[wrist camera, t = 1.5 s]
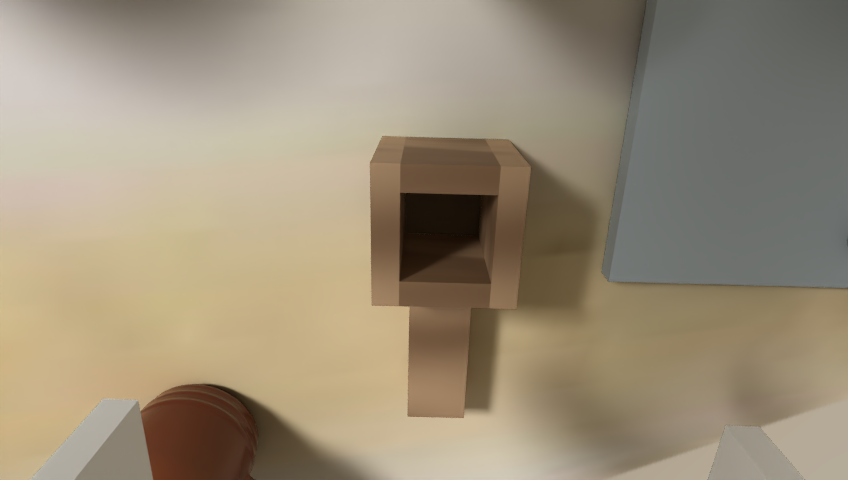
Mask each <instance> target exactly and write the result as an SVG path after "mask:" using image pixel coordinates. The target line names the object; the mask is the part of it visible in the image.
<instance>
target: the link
mask: <svg viewBox="0 0 848 480" xmlns="http://www.w3.org/2000/svg"><path fill="white" fill-rule="evenodd" d="M530 173H531V166H530V165H529V164H528V163H527V161H526V160H525V159H524V158H523V157H522V155H521V154H520V153H519V152H518V150H517V149H516V148H515V147H514V146H513V144H512V143H511V142H510V141H509V140H498V139H462V138H426V137H391V136H382V138H381V140H380V142H379V145H378V147H377V149H376V151H375V153H374V155H373V158H372V160H371V162H370V196H371V284H372V305H375V306H410V316H409V368H408V417H446V418H464V407H465V392H466V378H467V363H468V348H469V334H470V319H471V308H489V309H516V308H517V298H518V288H519V279H520V269H521V260H522V250H523V240H524V231H525V221H526V212H527V202H528V192H529V183H530ZM405 193H431V194H467V195H481V205H480V219H479V233H478V235H453V234H417V233H405Z"/></svg>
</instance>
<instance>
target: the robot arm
mask: <svg viewBox="0 0 848 480" xmlns="http://www.w3.org/2000/svg"><path fill="white" fill-rule="evenodd" d="M30 480H153V476H152V471H151V466H150V460H149V455H148V450H147V444H146V439H145V434H144V428H143V423H142V418H141V412H140V407H139V402H138V400H127V399H102V401H101V402H100V403H99V404H98V405H97V406H96V407H95V408H94V409H93V411H92V412H91V413H90V414H89V415H88V416H87V417H86V418H85V419H84V420H83V422H82V423H81V424H80V425H79V426H78V427H77V428H76V429H75V430H74V432H73V433H72V434H71V435H70V436H69V437H68V438H67V439H66V440H65V442H64V443H63V444H62V445H61V446H60V447H59V448H58V449H57V450H56V451H55V453H54V454H53V455H52V456H51V457H50V458H49V459H48V460H47V461H46V463H45V464H44V465H43V466H42V467H41V468H40V469H39V470H38V471H37V473H36V474H35V475H34V476H33V477H32V478H31V479H30ZM708 480H805V479H804V478H803V477H802V476H801V475H800V473H799V472H798V471H797V470H796V469H795V468H794V467H793V465H792V464H791V463H790V462H789V461H788V460H787V458H786V457H785V456H784V455H783V454H782V452H781V451H780V450H779V449H778V448H777V447H776V446H775V444H774V443H773V442H772V441H771V440H770V438H769V437H768V436H767V435H766V434H765V433H764V432H763V430H762V429H761V428H760V427H757V426H733V425H725V428H724V431H723V435H722V438H721V441H720V444H719V447H718V450H717V453H716V456H715V459H714V462H713V465H712V468H711V471H710V475H709V478H708Z"/></svg>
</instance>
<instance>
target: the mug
mask: <svg viewBox="0 0 848 480" xmlns="http://www.w3.org/2000/svg"><path fill="white" fill-rule="evenodd" d="M140 412H141V418H142V423H143V428H144V434H145V439H146V444H147V450H148V455H149V460H150V466H151V471H152V476H153V480H255V479H253V478H252V477H251V476H250V473H251V470H252V467H253V463H254V458H255V455H256V451H257V441H258V430H257V427H256V424H255V421H254V419H253V417H252V415H251V414H250V412H249V411H248V409H247V408H246V407H245V406H244V405H243V404H242V403H241V402H240V401H239V400H238V399H236V398H235V397H233V396H232V395H230V394H228V393H227V392H225V391H222V390H220V389H217V388H214V387H211V386H206V385H197V384H191V385H181V386H177V387H174V388H171V389H169V390H166V391H165V392H163V393H161V394H160V395H159V396H157V397H156V398H155V399H154V400H152V401H151V402H150V403H148V404H147V405H146V406H145V407H144V408H143V410H141V411H140Z"/></svg>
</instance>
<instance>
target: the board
mask: <svg viewBox="0 0 848 480" xmlns="http://www.w3.org/2000/svg"><path fill="white" fill-rule="evenodd" d="M847 237H848V0H647V3H646V9H645V15H644V21H643V27H642V33H641V39H640V45H639V51H638V57H637V63H636V69H635V75H634V81H633V87H632V93H631V99H630V105H629V111H628V117H627V123H626V129H625V135H624V140H623V146H622V152H621V158H620V164H619V170H618V176H617V182H616V188H615V194H614V200H613V206H612V212H611V218H610V224H609V230H608V236H607V242H606V248H605V254H604V260H603V266H602V274H603V275H604V276H605V278H606V279H607V280H608V281H609V282H644V283H681V284H719V285H756V286H793V287H831V288H848V246H847Z"/></svg>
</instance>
